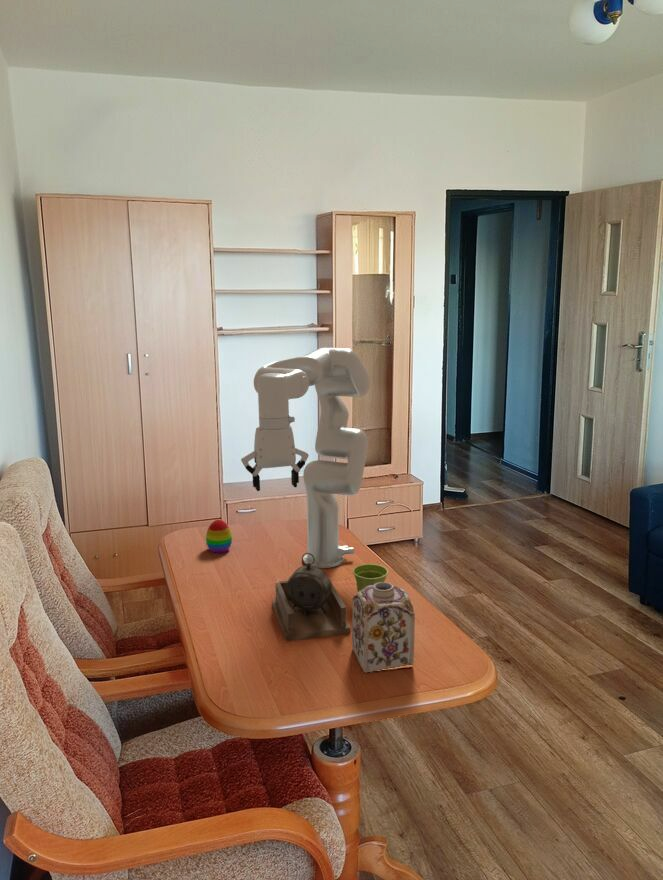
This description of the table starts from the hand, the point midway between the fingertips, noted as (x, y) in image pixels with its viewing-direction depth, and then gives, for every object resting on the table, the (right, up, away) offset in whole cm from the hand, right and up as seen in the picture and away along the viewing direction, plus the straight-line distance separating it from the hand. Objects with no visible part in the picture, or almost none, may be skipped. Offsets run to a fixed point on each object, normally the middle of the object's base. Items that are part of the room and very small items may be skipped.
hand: (276, 487), depth 185 cm
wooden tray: (+9, -33, -1) cm, 35 cm away
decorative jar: (+26, -38, -20) cm, 50 cm away
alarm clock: (+8, -32, -1) cm, 33 cm away
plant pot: (+25, -31, +9) cm, 41 cm away
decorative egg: (-22, -23, +45) cm, 55 cm away
